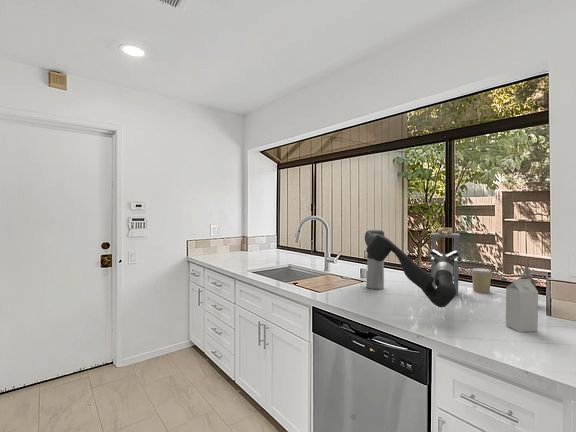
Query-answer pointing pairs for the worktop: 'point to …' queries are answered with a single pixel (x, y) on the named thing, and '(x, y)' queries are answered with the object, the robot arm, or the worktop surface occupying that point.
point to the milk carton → (522, 306)
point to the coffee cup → (481, 280)
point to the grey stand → (456, 265)
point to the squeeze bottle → (527, 275)
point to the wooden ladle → (444, 231)
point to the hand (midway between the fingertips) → (444, 247)
